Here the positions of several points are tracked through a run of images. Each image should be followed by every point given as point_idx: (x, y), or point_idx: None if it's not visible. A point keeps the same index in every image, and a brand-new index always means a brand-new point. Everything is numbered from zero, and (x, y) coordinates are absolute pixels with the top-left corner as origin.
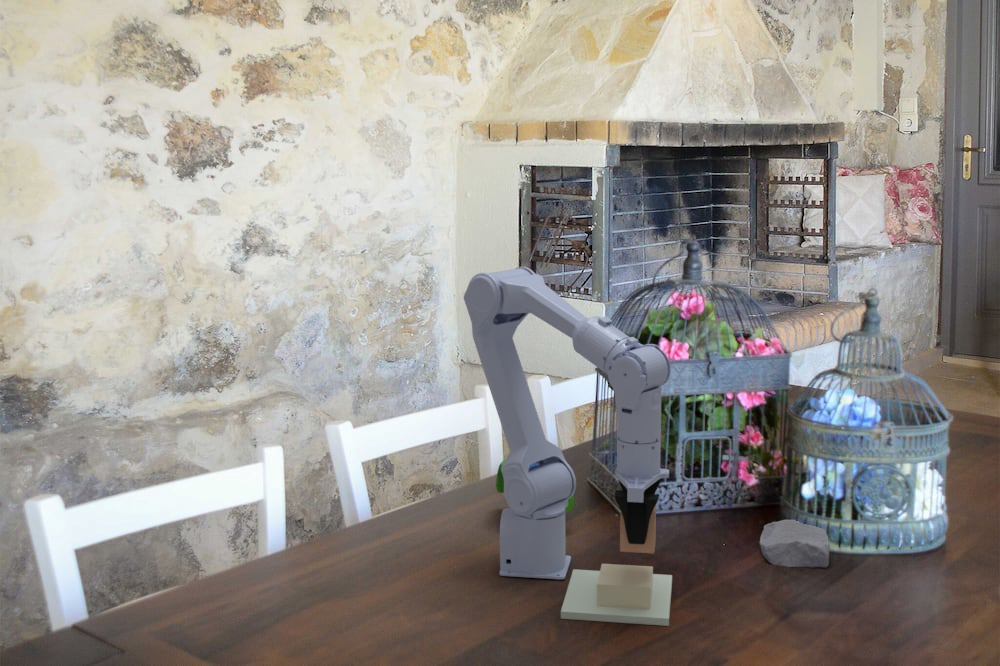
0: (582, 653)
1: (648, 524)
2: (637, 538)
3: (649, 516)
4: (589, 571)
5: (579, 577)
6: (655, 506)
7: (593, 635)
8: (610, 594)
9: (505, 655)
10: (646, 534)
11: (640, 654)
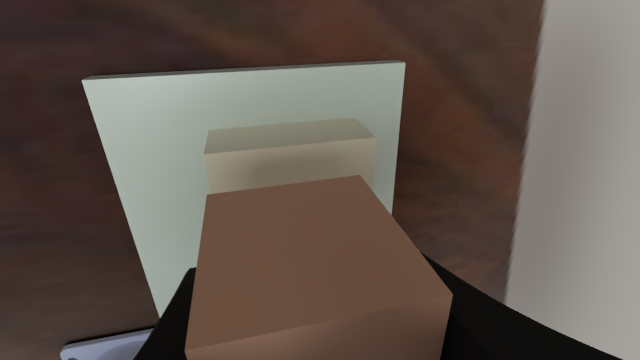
0: (505, 207)
1: (479, 290)
2: None
3: (549, 331)
4: (160, 293)
5: None
6: (206, 348)
7: (442, 206)
8: None
9: (500, 299)
10: (424, 256)
11: (520, 108)
